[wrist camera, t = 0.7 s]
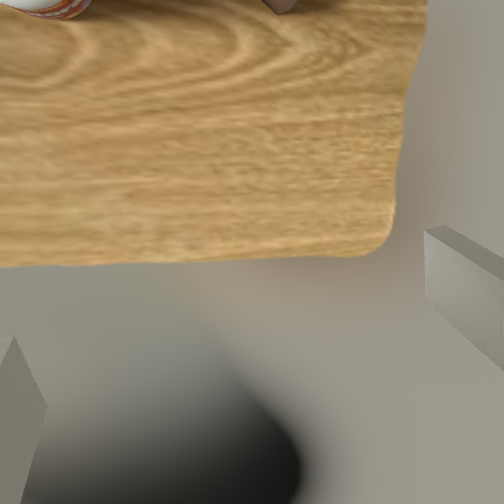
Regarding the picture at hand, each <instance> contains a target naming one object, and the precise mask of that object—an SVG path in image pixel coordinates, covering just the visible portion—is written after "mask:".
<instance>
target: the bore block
mask: <svg viewBox="0 0 504 504" xmlns="http://www.w3.org/2000/svg"><path fill="white" fill-rule="evenodd" d="M261 1H263V2H264V3H265V4H266V5H267V6H268V7H269V8H270V9H271V10H272V11H273V12H274V13H275V14H277V15H279V14H281V13H284V12H287V11H290V10H291V9H292V8H293V6H294V5H295V3H296V2H297V1H298V0H261Z"/></svg>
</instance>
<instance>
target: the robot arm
mask: <svg viewBox="0 0 504 504" xmlns="http://www.w3.org/2000/svg"><path fill="white" fill-rule="evenodd" d="M424 249H425V250H424V254H425V292H426V303H427V304H428V305H429V306H430V307H432V308H433V309H434V310H435V311H436V312H437V313H438V314H440V315H441V316H442V317H443V318H444V319H445V320H446V321H447V322H449V323H450V324H451V325H452V326H453V327H454V328H455V329H457V330H458V331H459V332H460V333H461V334H462V335H463V336H465V338H467V339H468V340H469V341H470V342H471V343H472V344H473V345H475V346H476V347H477V348H478V349H479V350H480V351H481V352H482V353H484V354H485V355H486V356H487V357H488V358H489V359H490V360H491V361H493V362H494V363H495V364H496V365H497V366H498V367H499V368H501V369H502V370H503V371H504V258H502V257H500V256H498V255H496V254H495V253H493V252H491V251H490V250H488V249H486V248H484V247H482V246H481V245H479V244H477V243H475V242H474V241H472V240H470V239H468V238H467V237H465V236H463V235H461V234H460V233H458V232H456V231H454V230H453V229H451V228H449V227H447V226H441V227H437V228H433V229H429V230H425V231H424ZM46 409H47V405H46V403H45V401H44V399H43V396H42V394H41V392H40V390H39V388H38V386H37V383H36V381H35V379H34V377H33V375H32V373H31V371H30V368H29V366H28V364H27V362H26V360H25V357H24V355H23V353H22V351H21V349H20V347H19V344H18V342H17V340H16V338H15V336H10V337H6V338H2V339H0V504H20V501H21V498H22V494H23V491H24V487H25V484H26V479H27V476H28V473H29V469H30V465H31V462H32V458H33V455H34V451H35V448H36V444H37V441H38V437H39V434H40V430H41V426H42V423H43V419H44V416H45V412H46Z"/></svg>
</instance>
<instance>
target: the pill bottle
mask: <svg viewBox="0 0 504 504" xmlns="http://www.w3.org/2000/svg"><path fill="white" fill-rule="evenodd" d="M91 1H92V0H0V3H2V4H5V5H7V6H10V7H12V8H15V9H17V10H20V11H22V12H25V13H27V14H29V15H32V16H34V17H37V18H40V19H45V20H65V19H69V18H72V17H74V16H76V15H78V14H79V13H81V12H82V11H83V10H84V9H85V8H86V7H87V6H88V5H89V4H90V2H91Z"/></svg>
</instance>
